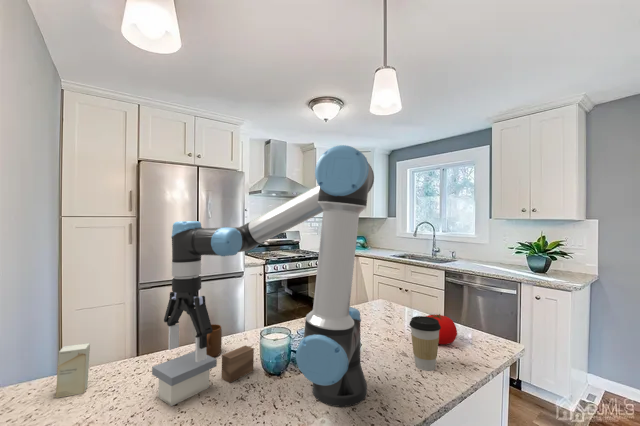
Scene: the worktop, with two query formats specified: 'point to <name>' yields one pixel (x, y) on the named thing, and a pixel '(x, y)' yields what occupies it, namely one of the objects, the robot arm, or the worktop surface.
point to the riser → (237, 363)
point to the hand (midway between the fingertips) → (186, 354)
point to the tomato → (445, 329)
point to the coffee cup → (425, 341)
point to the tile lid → (182, 368)
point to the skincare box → (72, 370)
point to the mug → (214, 341)
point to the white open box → (183, 388)
